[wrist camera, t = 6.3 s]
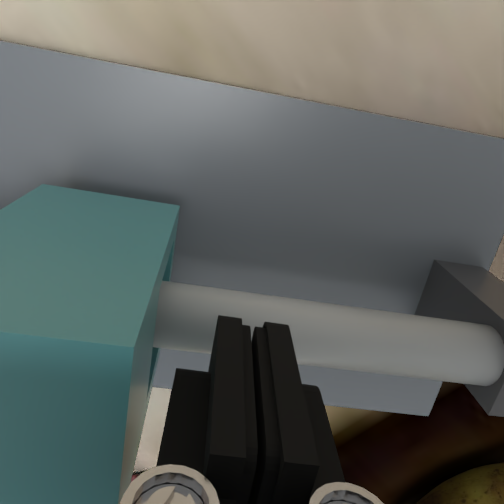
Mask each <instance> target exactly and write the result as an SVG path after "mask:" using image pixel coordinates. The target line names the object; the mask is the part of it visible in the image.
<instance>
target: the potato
mask: <svg viewBox="0 0 504 504" xmlns="http://www.w3.org/2000/svg"><path fill="white" fill-rule="evenodd" d="M416 504H504V463H497V464H491V465H485V466H481V467H477V468H473V469H470V470H468V471H465V472H463V473H460V474H458V475H456V476H454V477H452V478H450V479H448V480H446V481H444V482H443V483H441V484H440V485H438V486H437V487H435V488H434V489H433V490H431V491H430V492H429V493H428V494H427V495H425V496H424V497H423V498H422V499H421V500H419V501H418V502H417V503H416Z"/></svg>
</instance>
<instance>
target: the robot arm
mask: <svg viewBox="0 0 504 504" xmlns="http://www.w3.org/2000/svg"><path fill="white" fill-rule="evenodd" d="M120 504H383V503H382V502H381V501H380V500H379V499H378V498H377V497H376V496H375V495H373V494H372V493H370V492H369V491H367V490H365V489H364V488H362V487H359V486H356V485H353V484H351V483H345V479H344V476H343V472H342V468H341V465H340V461H339V457H338V454H337V450H336V446H335V443H334V439H333V435H332V432H331V428H330V424H329V421H328V417H327V413H326V410H325V406H324V402H323V399H322V395H321V392H320V389H319V387H317V386H314V385H307V384H302V382H301V378H300V373H299V369H298V364H297V359H296V355H295V350H294V346H293V341H292V337H291V332H290V328H289V325H286V324H279V323H272V322H264V324H263V327H256V326H255V328H254V331H253V336H252V340H251V329H250V326H248V325H242V318H236V317H229V316H222V315H218V319H217V324H216V330H215V336H214V341H213V347H212V352H211V358H210V364H209V369H208V372H204V371H196V370H189V369H181V368H176V371H175V376H174V381H173V386H172V391H171V396H170V401H169V406H168V411H167V416H166V421H165V426H164V431H163V436H162V441H161V446H160V451H159V456H158V461H157V466H156V467H154V468H152V469H149V470H147V471H145V472H143V473H142V474H140V475H139V476H138V477H137V478H135V479H134V480H133V481H132V482H131V484H130V485H129V487H128V488H127V490H126V491H125V493H124V495H123V497H122V499H121V502H120Z"/></svg>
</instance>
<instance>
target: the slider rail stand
mask: <svg viewBox="0 0 504 504" xmlns="http://www.w3.org/2000/svg"><path fill="white" fill-rule="evenodd" d="M42 184H47V185H53V186H59V187H65V188H72V189H78V190H84V191H91V192H97V193H103V194H110V195H116V196H122V197H129V198H135V199H141V200H148V201H154V202H160V203H167V204H173V205H179V206H180V209H179V217H178V225H177V233H176V240H175V248H174V256H173V264H172V272H171V279H170V282H169V281H162V282H161V286H160V291H159V299H158V307H157V316H156V324H155V333H154V341H153V347H157V348H161V349H160V354H159V358H158V363H157V367H156V372H155V376H154V381H153V385H152V387H159V388H168V389H172V386H173V381H174V376H175V371H176V368H181V369H189V370H196V371H204V372H208V369H209V364H210V358H211V352H212V347H213V341H214V336H215V330H216V324H217V319H218V315H222V316H229V317H236V318H242V325H248V326H250V329H251V340H252V336H253V331H254V328H255V326H256V327H263V324H264V322H272V323H279V324H286V325H289V328H290V332H291V337H292V341H293V346H294V350H295V355H296V359H297V364H298V369H299V373H300V378H301V382H302V384H307V385H314V386H317V387H319V389H320V392H321V395H322V399H323V402H324V405H328V406H337V407H347V408H356V409H366V410H375V411H384V412H394V413H403V414H413V415H422V416H429V414H430V411H431V409H432V406H433V404H434V401H435V399H436V397H437V394H438V392H439V389H440V387H441V385H442V382H443V381H446V382H455V383H463V384H464V385H465V386H466V387H467V388H468V390H469V391H470V392H471V394H472V395H473V396H474V397H475V399H476V400H477V401H478V403H479V404H480V405H481V406H482V408H483V409H484V410H485V411H486V413H487V414H488V415H491V416H501V417H504V282H502V281H501V280H499V279H498V278H497V277H495V276H494V275H493V274H491V273H490V272H489V269H490V266H491V264H492V261H493V259H494V257H495V254H496V252H497V249H498V247H499V245H500V242H501V240H502V237H503V235H504V138H499V137H494V136H489V135H484V134H479V133H474V132H469V131H463V130H458V129H453V128H448V127H443V126H438V125H433V124H428V123H422V122H417V121H412V120H407V119H402V118H397V117H392V116H387V115H381V114H376V113H371V112H366V111H361V110H356V109H351V108H346V107H340V106H335V105H330V104H325V103H320V102H315V101H310V100H305V99H299V98H294V97H289V96H284V95H279V94H274V93H269V92H264V91H258V90H253V89H248V88H243V87H238V86H233V85H228V84H223V83H217V82H212V81H207V80H202V79H197V78H192V77H187V76H182V75H176V74H171V73H166V72H161V71H156V70H151V69H146V68H141V67H135V66H130V65H125V64H120V63H115V62H110V61H105V60H100V59H94V58H89V57H84V56H79V55H74V54H69V53H64V52H59V51H53V50H48V49H43V48H38V47H33V46H28V45H23V44H18V43H12V42H7V41H2V40H0V210H1V209H2V208H4V207H6V206H7V205H9V204H11V203H12V202H14V201H16V200H17V199H19V198H21V197H22V196H24V195H25V194H27V193H29V192H30V191H32V190H34V189H35V188H37V187H39V186H40V185H42Z"/></svg>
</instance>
